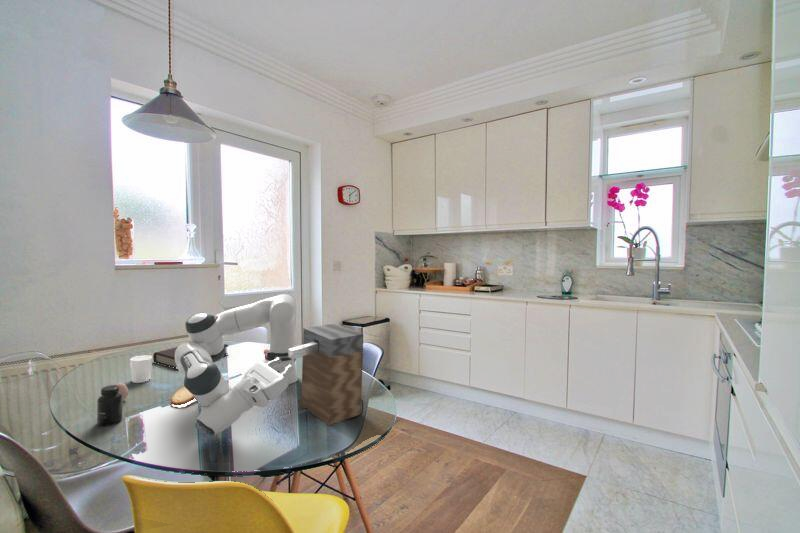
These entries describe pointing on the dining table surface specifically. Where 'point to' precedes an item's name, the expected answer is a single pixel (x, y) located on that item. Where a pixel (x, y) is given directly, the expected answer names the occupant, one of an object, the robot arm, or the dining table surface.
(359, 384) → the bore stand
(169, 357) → the book
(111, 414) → the supplement bottle
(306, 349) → the steel bar
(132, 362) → the white cup
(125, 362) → the dining table surface
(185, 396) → the slice of bread
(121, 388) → the egg
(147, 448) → the dining table surface
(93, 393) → the dining table surface
